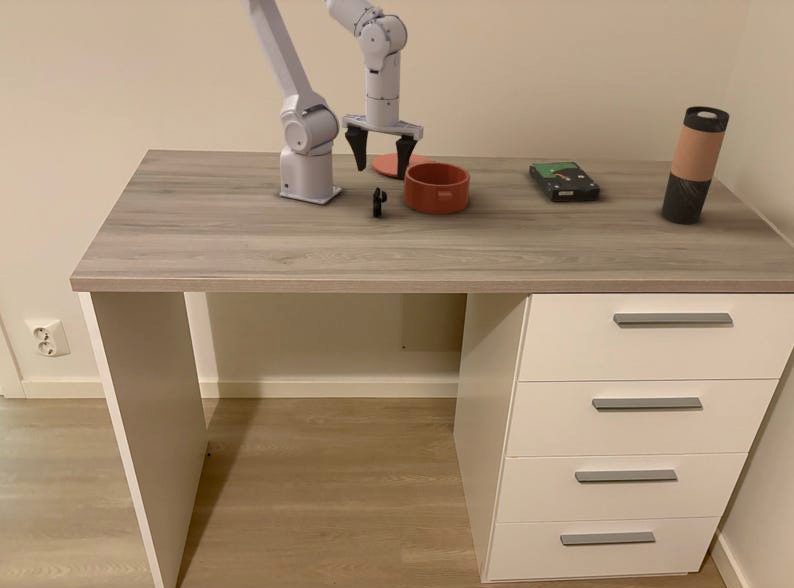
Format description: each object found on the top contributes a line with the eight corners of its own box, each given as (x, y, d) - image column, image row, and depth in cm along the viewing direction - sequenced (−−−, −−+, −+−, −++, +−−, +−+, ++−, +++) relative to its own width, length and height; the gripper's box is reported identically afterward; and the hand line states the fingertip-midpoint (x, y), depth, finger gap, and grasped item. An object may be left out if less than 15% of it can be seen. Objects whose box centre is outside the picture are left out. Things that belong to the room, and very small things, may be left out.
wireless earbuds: (372, 207, 136) (373, 181, 133) (386, 207, 136) (386, 181, 133) (372, 223, 130) (373, 196, 127) (386, 223, 130) (387, 196, 127)
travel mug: (706, 217, 140) (737, 113, 129) (688, 228, 136) (719, 121, 124) (671, 205, 145) (698, 103, 133) (652, 215, 140) (678, 110, 128)
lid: (375, 180, 147) (375, 159, 144) (369, 157, 157) (369, 137, 155) (439, 180, 149) (440, 158, 146) (428, 157, 159) (430, 137, 157)
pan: (411, 220, 132) (412, 192, 129) (398, 184, 146) (399, 157, 143) (476, 219, 134) (479, 191, 131) (457, 183, 148) (459, 157, 145)
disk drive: (599, 201, 145) (572, 173, 156) (602, 188, 143) (574, 160, 155) (550, 203, 142) (527, 174, 154) (553, 189, 141) (528, 161, 152)
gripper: (431, 95, 123) (427, 172, 131) (353, 83, 126) (354, 159, 134) (416, 106, 117) (413, 186, 125) (335, 93, 121) (337, 171, 129)
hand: (381, 173), depth 129 cm, fingers open, 7 cm apart
